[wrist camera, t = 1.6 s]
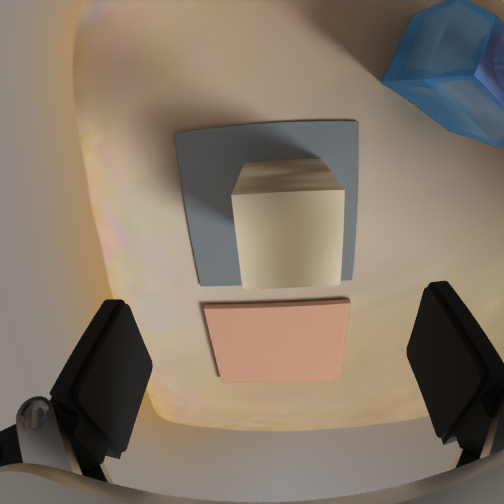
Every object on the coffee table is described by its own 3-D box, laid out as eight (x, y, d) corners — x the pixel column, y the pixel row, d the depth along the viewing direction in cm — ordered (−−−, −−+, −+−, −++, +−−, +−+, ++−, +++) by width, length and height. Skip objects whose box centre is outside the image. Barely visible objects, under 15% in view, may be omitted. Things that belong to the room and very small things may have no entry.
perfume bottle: (412, 15, 14) (525, -28, 3) (477, 66, 14) (599, 77, 4) (380, 82, 16) (496, 80, 6) (448, 130, 17) (571, 180, 7)
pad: (349, 298, 24) (350, 303, 24) (338, 374, 29) (339, 379, 29) (205, 304, 26) (203, 308, 25) (222, 378, 30) (222, 382, 30)
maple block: (321, 158, 19) (344, 189, 13) (322, 228, 21) (340, 284, 15) (244, 162, 20) (231, 195, 13) (251, 231, 22) (242, 289, 16)
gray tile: (356, 121, 18) (357, 121, 18) (351, 278, 23) (351, 279, 23) (174, 133, 19) (173, 133, 19) (201, 284, 25) (200, 286, 24)
